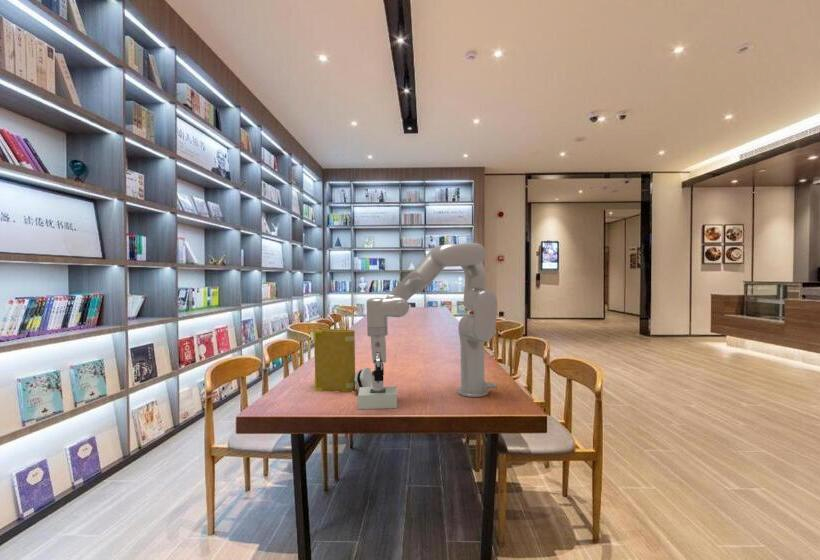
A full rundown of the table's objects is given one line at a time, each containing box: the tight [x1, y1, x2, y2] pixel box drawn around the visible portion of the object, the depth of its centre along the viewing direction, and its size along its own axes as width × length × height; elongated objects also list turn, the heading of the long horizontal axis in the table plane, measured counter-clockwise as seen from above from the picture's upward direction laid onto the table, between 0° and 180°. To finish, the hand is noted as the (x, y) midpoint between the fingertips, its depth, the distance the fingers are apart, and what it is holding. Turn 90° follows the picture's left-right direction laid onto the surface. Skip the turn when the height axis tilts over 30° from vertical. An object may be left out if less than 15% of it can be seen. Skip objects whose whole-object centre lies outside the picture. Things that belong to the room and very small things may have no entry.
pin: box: [371, 370, 385, 393], centre depth 141 cm, size 4×4×12 cm
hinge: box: [355, 367, 373, 394], centre depth 158 cm, size 17×5×10 cm, turn 175°
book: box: [313, 328, 356, 393], centre depth 160 cm, size 17×7×25 cm, turn 71°
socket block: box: [357, 385, 398, 410], centre depth 141 cm, size 14×10×5 cm
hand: (379, 377), depth 141 cm, fingers open, 9 cm apart
